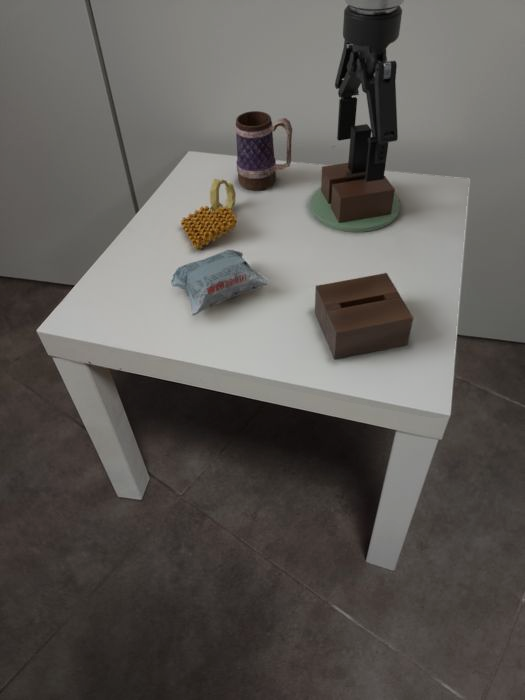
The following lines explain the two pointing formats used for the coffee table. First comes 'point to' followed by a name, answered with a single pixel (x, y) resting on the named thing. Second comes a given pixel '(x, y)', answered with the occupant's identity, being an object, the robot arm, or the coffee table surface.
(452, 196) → the coffee table surface
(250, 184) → the mug
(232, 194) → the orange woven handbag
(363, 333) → the knife block
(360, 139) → the knife
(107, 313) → the coffee table surface
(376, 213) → the green disc stand
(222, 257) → the packaged food
